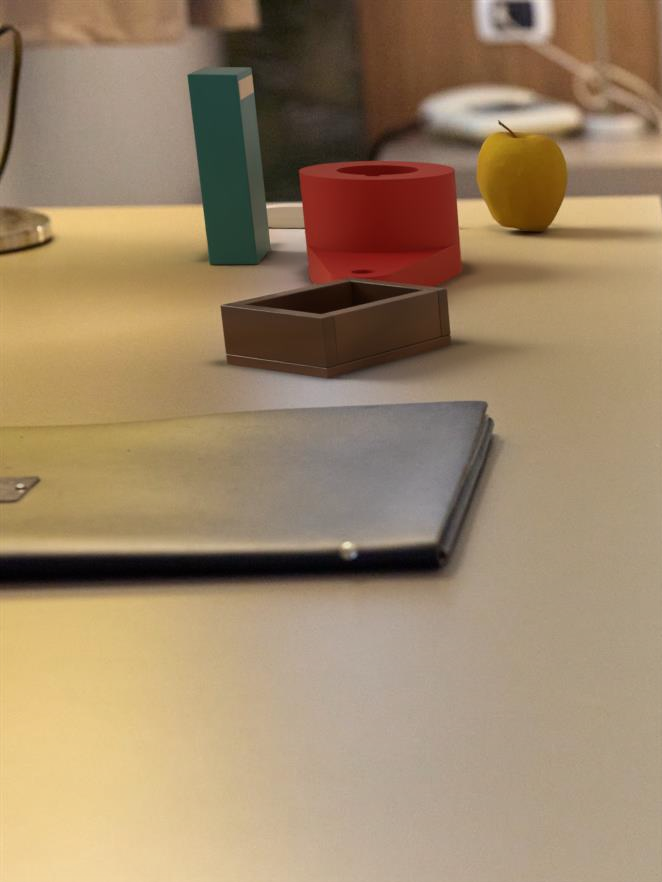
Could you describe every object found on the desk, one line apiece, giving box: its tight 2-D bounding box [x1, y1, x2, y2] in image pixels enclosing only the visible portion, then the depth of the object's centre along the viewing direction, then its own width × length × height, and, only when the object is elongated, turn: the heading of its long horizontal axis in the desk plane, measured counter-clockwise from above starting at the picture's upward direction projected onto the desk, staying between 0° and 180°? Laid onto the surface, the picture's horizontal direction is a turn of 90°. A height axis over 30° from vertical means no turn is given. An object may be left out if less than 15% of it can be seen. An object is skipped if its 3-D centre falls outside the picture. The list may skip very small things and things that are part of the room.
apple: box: [476, 119, 568, 233], centre depth 142 cm, size 6×6×8 cm
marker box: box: [186, 66, 272, 266], centre depth 129 cm, size 6×3×12 cm, turn 11°
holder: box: [220, 277, 452, 380], centre depth 102 cm, size 10×7×3 cm
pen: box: [266, 203, 305, 229], centre depth 144 cm, size 2×14×2 cm, turn 98°
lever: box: [298, 160, 463, 287], centre depth 121 cm, size 18×9×7 cm, turn 10°
